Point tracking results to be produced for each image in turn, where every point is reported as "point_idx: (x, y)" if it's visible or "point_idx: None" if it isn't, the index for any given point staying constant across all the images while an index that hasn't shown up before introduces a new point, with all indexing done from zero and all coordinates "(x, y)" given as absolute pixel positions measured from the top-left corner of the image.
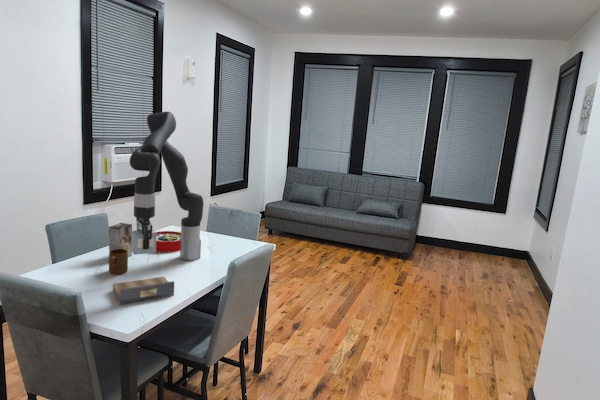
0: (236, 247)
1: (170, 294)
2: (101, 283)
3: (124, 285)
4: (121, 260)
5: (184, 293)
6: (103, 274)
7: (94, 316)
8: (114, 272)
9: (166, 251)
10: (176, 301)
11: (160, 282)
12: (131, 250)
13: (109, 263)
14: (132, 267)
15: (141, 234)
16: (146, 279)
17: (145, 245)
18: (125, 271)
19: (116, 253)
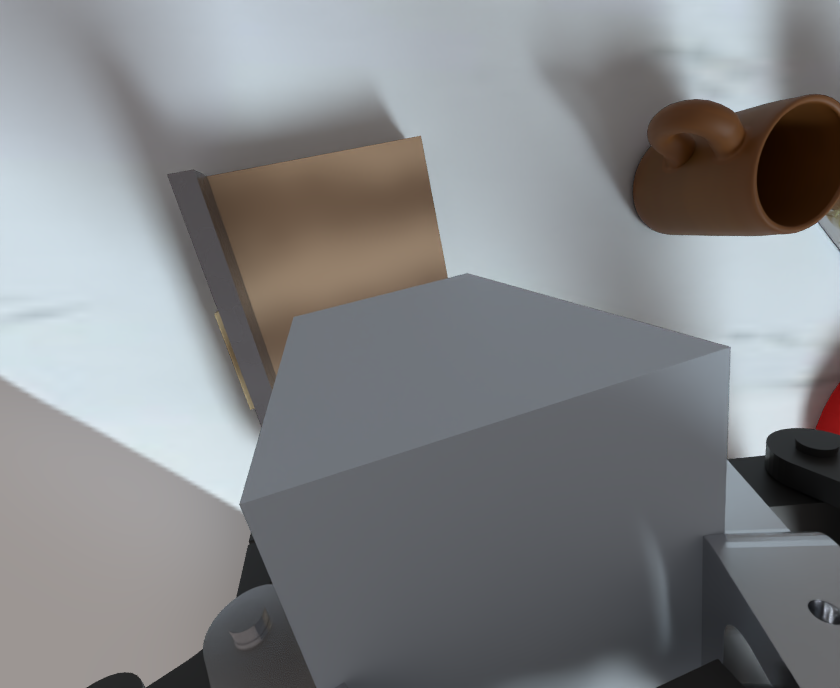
0: None
1: None
2: (534, 81)
3: (383, 212)
4: (702, 193)
5: None
6: (656, 98)
7: (22, 13)
8: (645, 159)
9: (823, 420)
10: (217, 480)
11: None
12: (455, 277)
13: (670, 105)
14: (699, 260)
15: (318, 677)
16: None
17: (252, 543)
18: (646, 223)
19: (811, 159)
